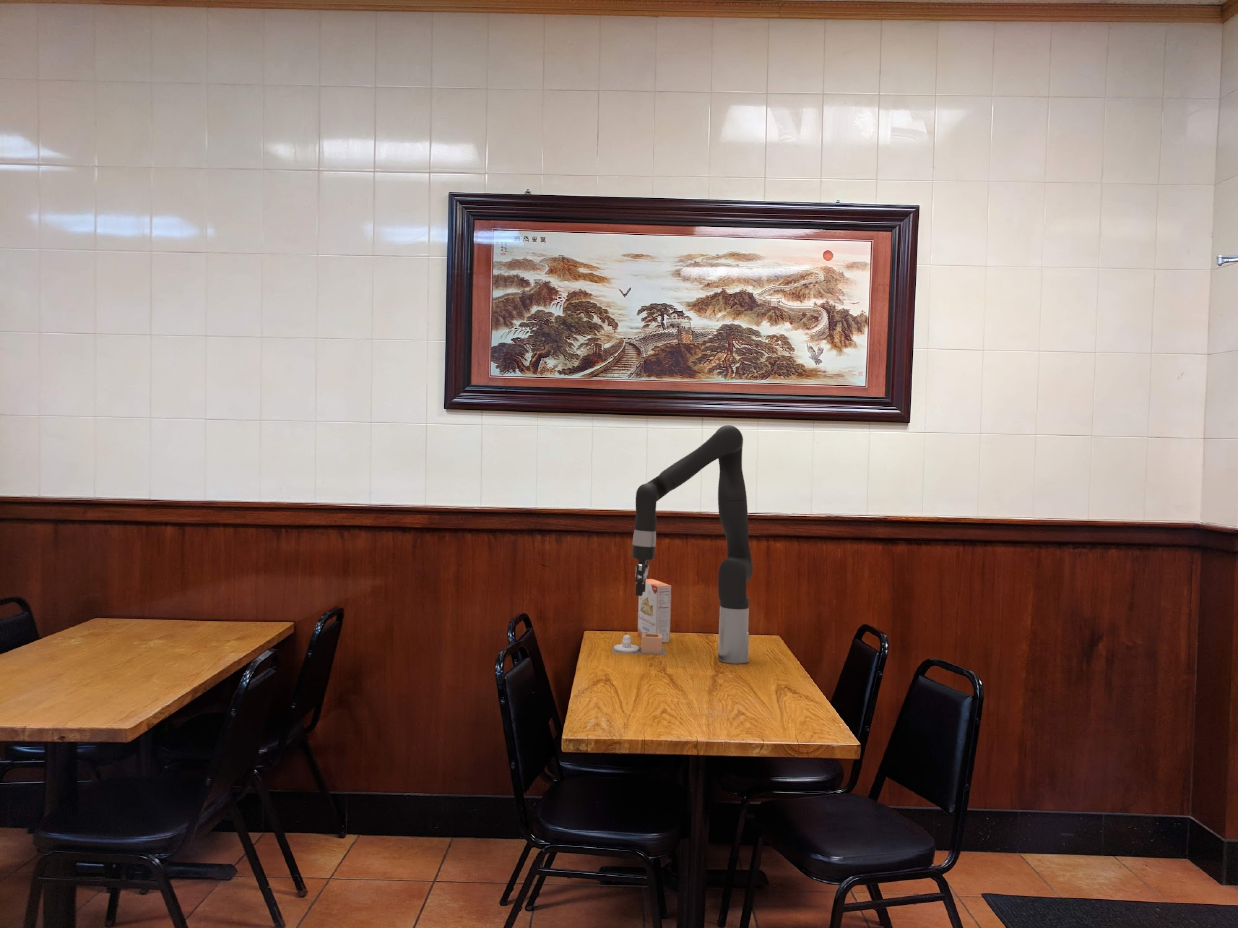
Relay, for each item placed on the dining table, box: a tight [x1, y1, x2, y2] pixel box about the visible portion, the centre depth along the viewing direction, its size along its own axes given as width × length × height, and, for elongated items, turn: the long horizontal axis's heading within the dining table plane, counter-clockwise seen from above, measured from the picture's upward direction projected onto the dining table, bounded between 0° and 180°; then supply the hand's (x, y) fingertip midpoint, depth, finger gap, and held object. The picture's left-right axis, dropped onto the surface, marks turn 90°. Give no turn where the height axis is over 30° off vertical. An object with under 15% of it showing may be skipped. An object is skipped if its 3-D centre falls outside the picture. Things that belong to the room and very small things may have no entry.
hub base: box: [612, 634, 667, 656], centre depth 264 cm, size 17×9×6 cm, turn 89°
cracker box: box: [637, 578, 672, 643], centre depth 282 cm, size 14×6×21 cm, turn 25°
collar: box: [640, 633, 663, 654], centre depth 263 cm, size 6×6×5 cm
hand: (640, 593), depth 266 cm, fingers open, 8 cm apart
